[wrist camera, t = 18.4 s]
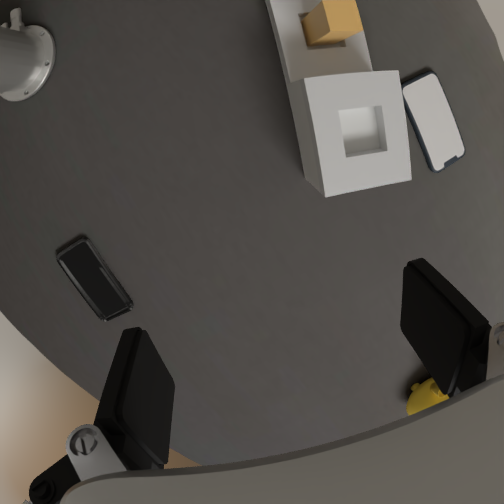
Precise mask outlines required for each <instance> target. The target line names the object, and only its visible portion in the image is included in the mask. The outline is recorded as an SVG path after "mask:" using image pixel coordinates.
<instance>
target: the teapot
mask: <svg viewBox="0 0 504 504" xmlns="http://www.w3.org/2000/svg"><path fill="white" fill-rule="evenodd" d="M411 390H412V391H413V392H412V393H411V395H410V397H409V399H408V402H407V406H406V410H407V413H408V414H409V416H410V415H412V414H415V413H417V412H419V411H422V410H424V409H426V408H429V407H431V406H433V405H435V404H438V403H440V402H442V401H444V400H447V399H449V397H448V395H447V394H446V395H444V394H442V392H441V391H440V389H439V387H438V386H437V384H436V383H435V381H434V380H433V378H430V379H428V380H426V381H424V382H423V383H422V384H419V383H416V384H414V385H412V387H411Z"/></svg>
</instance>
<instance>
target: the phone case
mask: <svg viewBox="0 0 504 504" xmlns="http://www.w3.org/2000/svg"><path fill="white" fill-rule="evenodd" d="M401 89H402V95H403V102H404V108H405V110H406V113H407V115H408V117H409V119H410V122H411V124H412V126H413V129H414V131H415V134H416V136H417V139H418V141H419V143H420V146H421V149H422V151H423V154H424V156H425V159H426V162H427V164H428V167H429V169H430V170H431V171H432V172H434V173H439V172H441V171H442V170H444V169H445V168H447V167H448V166H450V165H451V164H453V163H454V162H456V161H457V160H459V159H460V158H462V157H463V156H464V154H465V146H464V143H463V140H462V137H461V134H460V131H459V128H458V126H457V123H456V120H455V117H454V115H453V112H452V109H451V107H450V104H449V102H448V99H447V97H446V95H445V92H444V90H443V88H442V85H441V83H440V81H439V78H438V76H437V75H436V73H435V72H433V71H427V72H425V73H422V74H420V75H418V76H416V77H414V78H412V79H410V80H408V81H406V82H404V83H402V84H401Z"/></svg>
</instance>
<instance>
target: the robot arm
mask: <svg viewBox="0 0 504 504" xmlns="http://www.w3.org/2000/svg"><path fill="white" fill-rule="evenodd" d="M21 18H22V14H21V8H16V9H14V10H12V11H11V12H10V19H11V25H12V26H11V27H10V29H9V26H8V23H4V24H2V25H1V26H0V95H1V96H2V97H3V98H4V99H6V100H9V101H21V100H25V99H27V98H29V97H31V96H33V95H34V94H35V93H36V92H38V91H39V89H40V88H41V87H42V86H43V85H44V83H45V82H46V81H47V79H48V77H49V75H50V73H51V71H52V68H53V65H54V61H55V55H56V47H55V41H54V38H53V36H52V35H51V33H50V32H49V31H48V30H47V29H45V28H43V27H41V26H37V25H30V26H26V27H25V26H24V23H23V22H22V19H21ZM488 323H489V321H488V320H487V319H486V318H485V317H484V316H483V315H482V314H481V313H480V312H479V311H478V310H477V309H476V308H475V307H474V306H473V305H472V304H471V303H470V302H469V301H468V300H467V299H466V298H465V297H464V296H463V295H462V294H461V293H460V292H459V291H458V290H457V289H456V288H455V287H454V286H453V285H452V284H451V283H450V282H449V281H448V280H447V279H446V278H444V277H443V276H442V275H441V274H440V273H439V272H438V271H437V270H436V269H435V268H434V267H433V266H432V265H430V264H429V263H428V262H427V261H426V260H425V259H424V258H419V259H416V260H412V261H409V262H408V263H407V266H406V267H404V270H403V291H402V308H401V321H400V326H401V330H402V332H403V334H404V335H405V337H406V338H407V340H408V341H409V343H410V344H411V346H412V347H413V349H414V350H415V352H416V353H417V355H418V356H419V358H420V359H421V361H422V362H423V364H424V366H425V367H426V369H427V370H428V372H429V373H430V375H431V376H432V378H433V380H434V381H435V383H436V384H437V386H438V387H439V389H440V391H441V392H442V394H444V395H446V394H447V395H448V397H449V399H447V400H444V401H442V402H440V403H438V404H435V405H433V406H431V407H429V408H426V409H424V410H422V411H419V412H417V413H415V414H412V415H410V416H407V417H405V418H402V419H400V420H397V421H394V422H392V423H389V424H386V425H383V426H381V427H378V428H375V429H372V430H369V431H366V432H363V433H360V434H357V435H354V436H350V437H347V438H344V439H340V440H337V441H333V442H330V443H326V444H322V445H319V446H315V447H311V448H307V449H302V450H298V451H294V452H289V453H284V454H280V455H274V456H269V457H264V458H258V459H252V460H246V461H240V462H233V463H225V464H217V465H208V466H197V467H186V468H173V469H164V464H167V462H168V455H169V443H170V432H171V421H172V411H173V401H174V391H175V384H174V381H173V378H172V377H171V375H170V373H169V371H168V370H167V368H166V366H165V364H164V363H163V361H162V359H161V357H160V355H159V354H158V352H157V350H156V348H155V346H154V344H153V342H152V341H151V339H150V337H149V335H148V333H147V331H146V330H142V329H141V328H140V327H135V328H130V329H125V330H124V331H123V333H122V336H121V338H120V341H119V344H118V347H117V350H116V353H115V356H114V359H113V362H112V365H111V368H110V371H109V374H108V377H107V380H106V383H105V387H104V390H103V393H102V396H101V400H100V403H99V407H98V410H97V413H96V417H95V421H94V424H93V425H90V424H86V425H81V426H79V427H77V428H76V429H75V430H73V431H72V432H71V434H70V435H69V437H68V439H67V441H66V451H67V455H65V456H64V457H63V458H62V459H60V460H59V461H58V462H56V463H55V464H54V465H53V466H51V467H50V468H48V469H47V470H46V471H44V472H43V473H41V474H40V475H39V476H37V477H36V478H35V479H34V480H33V482H32V483H31V485H30V489H29V497H30V501H29V502H28V501H27V500H25V501H24V502H23V504H504V322H500V323H497V324H496V325H494V326H493V327H491V326H490V325H489V324H488Z"/></svg>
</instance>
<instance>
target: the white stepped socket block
mask: <svg viewBox="0 0 504 504" xmlns="http://www.w3.org/2000/svg"><path fill="white" fill-rule="evenodd" d="M321 1H322V0H265V3H266V6H267V10H268V14H269V17H270V21H271V25H272V29H273V32H274V36H275V40H276V44H277V48H278V52H279V56H280V61H281V65H282V69H283V73H284V78H285V82H286V86H287V91H288V96H289V100H290V105H291V109H292V114H293V119H294V124H295V129H296V134H297V139H298V144H299V149H300V155H301V160H302V165H303V171H304V176H305V179H306V180H307V181H308V182H309V183H310V184H312V185H313V186H314V187H315V188H316V189H317V190H318V191H319V192H320V193H321V194H322V195H323V196H325V197H329V196H334V195H339V194H343V193H348V192H353V191H358V190H362V189H367V188H372V187H377V186H382V185H387V184H392V183H397V182H403V181H408V180H411V165H410V153H409V142H408V133H407V124H406V116H405V109H404V102H403V95H402V89H401V83H400V78H399V72H398V70H397V71H372V66H371V61H370V56H369V52H368V47H367V43H366V39H365V35H364V31H361V32H359V33H357V34H355V35H352V36H350V37H348V38H346V39H344V40H342V41H340V42H338V43H336V44H331V45H318V46H308V47H307V43H306V39H305V35H304V31H303V27H302V24H301V21H302V20H303V19H304V18H305V17H306V16H307V15H308V14H309V13H310V12H311V11H312V10H313V9H314V8H315V7H316V6H317V5H318V4H319V3H320V2H321Z"/></svg>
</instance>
